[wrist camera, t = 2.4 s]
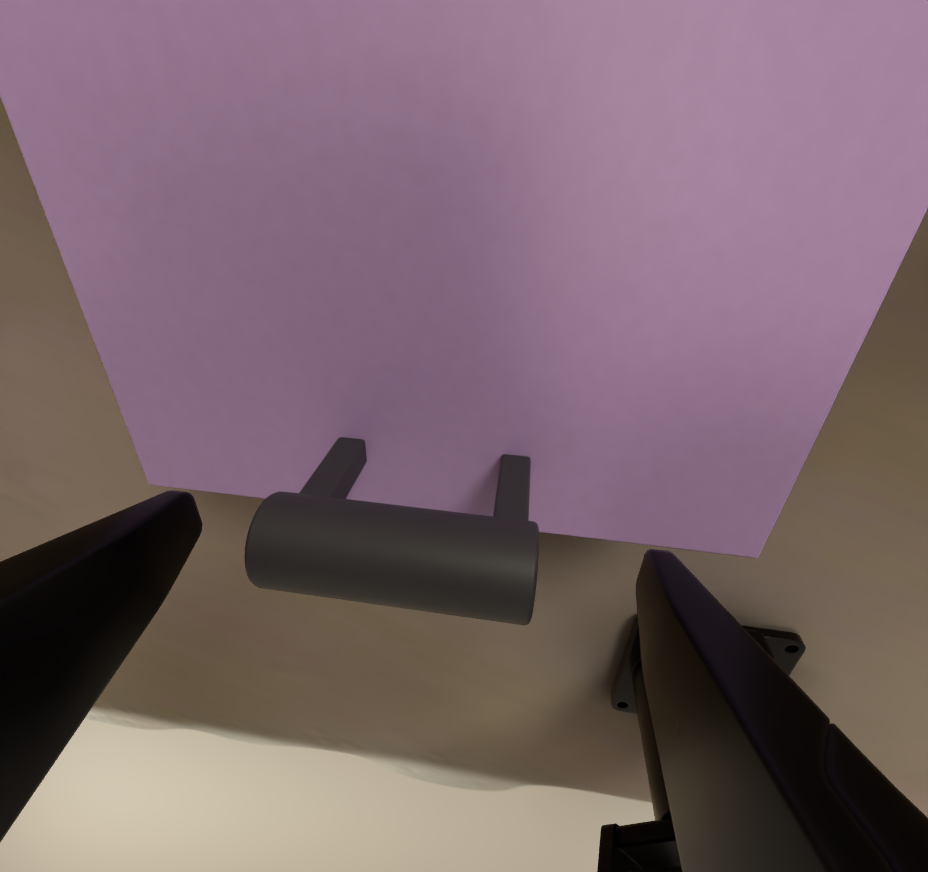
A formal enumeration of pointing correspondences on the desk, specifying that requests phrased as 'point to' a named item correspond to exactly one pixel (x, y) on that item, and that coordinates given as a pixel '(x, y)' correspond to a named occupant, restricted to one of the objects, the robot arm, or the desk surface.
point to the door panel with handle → (474, 261)
